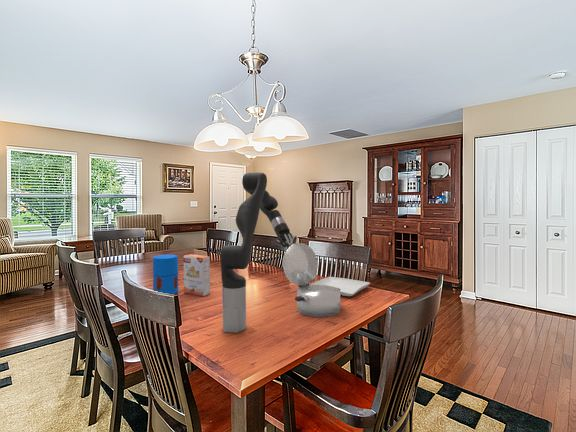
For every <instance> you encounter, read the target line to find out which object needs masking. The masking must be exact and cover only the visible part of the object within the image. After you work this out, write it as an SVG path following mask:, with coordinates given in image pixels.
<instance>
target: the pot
mask: <svg viewBox="0 0 576 432" xmlns="http://www.w3.org/2000/svg"><path fill="white" fill-rule="evenodd" d="M296 291H297V292H296V295H297V296H295V297H294V300H295V301H296V302H297V303H296V304H297V305H296V308H297V312H298V313H299V314H302V315H304V316H306V317H313V318H329V317H334V316H336V315H338V314H339V313H340V312H341V295H340V289H339V288H335V287H332V286H327V285H311V284H309V285H306V286H302V287H298V288H297V290H296Z"/></svg>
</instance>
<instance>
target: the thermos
mask: <svg viewBox="0 0 576 432" xmlns="http://www.w3.org/2000/svg"><path fill="white" fill-rule="evenodd" d="M152 284H153V286H152V289H153V290H154V291H158V292H163V293H169V294H174V295H178V296H179V258H178V255H176V254H160V255H155V256H153V257H152ZM153 290H152V291H153ZM179 297H180V296H179Z"/></svg>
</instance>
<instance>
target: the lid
mask: <svg viewBox="0 0 576 432" xmlns="http://www.w3.org/2000/svg"><path fill="white" fill-rule="evenodd" d="M282 268H283V272H284V275H285V276H286V278H287V279H288V281H289V282H290V283H292V284H293V285H295V286H298V288H300V287H302V286H306V285H310V283H311V282H313V281H314V279H315V277H316V275H317V273H318V259H317V255H316V253H315V252H314V250H313V249H312V248H311V247H310V246H309V244H306V243H303V242H296V244H293V245H291V246H290V247H289V248H286V250H285V251H284V254H283V257H282Z"/></svg>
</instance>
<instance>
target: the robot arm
mask: <svg viewBox="0 0 576 432" xmlns="http://www.w3.org/2000/svg"><path fill="white" fill-rule="evenodd" d="M241 184H242V187H243V189H244V191H246V192H247V193H248V194H249V195H250V196H249V197H248V198H246V199H245V200H244V201H242V202H241V204H240V205H239V207H238V209H237V213H236V217H235V223H236V226H237V229H238V231H239V233H240V235H241V238H242V243H241V245H231V244H229V245H227V244H226V245H224V246H223V247H222V248H221V251H220V270H221V272H220V273H221V283H222V289H221V290H222V293H221V294H222V330H223V331H222V332H223V333H235V334H238V333H240V332H242V331H243V332H244V331H245V330H246V329H247V280H246V278H245V276H243V275H240V274H238V273H237V272H236V271H235V270H245V269H247V267H248V266H249V263H250V260H251V253H252V246H253V240H254V235H255V231H256V226H257V224H258V223H257V222H258V219H259V214H260V211H261V212H262V213H263V214H264V215H265V216H266V217H267V218H268V220H269V222H270V224H271V227H272V229H273V231H274V233H275V235H276V237H277V239H276V240H275V242H276V243H277V244H279V245H281V246H282V247H283V248H286V249H288V248H289V247H290V246H291V245H293V244H296V243H297V239H298V236H296V235H295V236H294V235H293V234H292V233H291V230H290V228H289V226H288V225H287V223H286V221H285V219H284V218H283V216H282V215H281V213H280V211H279V210H278V209H276V208H278V205H279V203H278V200H277V199H276V198H275V197H274V196H272V195H270V193H269V192H268V190H267V189H266V188H267V185H268V178H267V175H266V174H265V173H264V172H246V173H244V175H243V176H242V183H241Z"/></svg>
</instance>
